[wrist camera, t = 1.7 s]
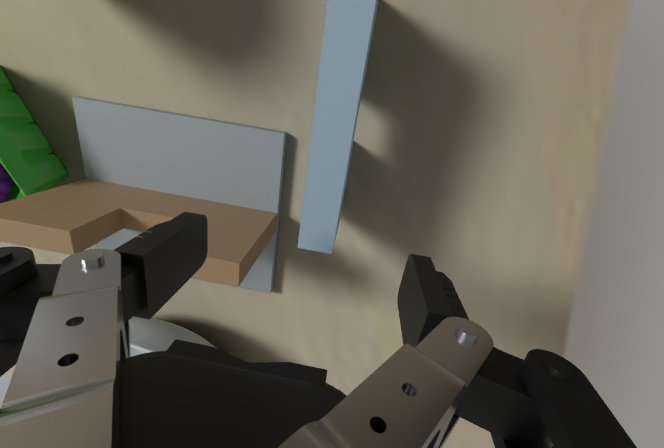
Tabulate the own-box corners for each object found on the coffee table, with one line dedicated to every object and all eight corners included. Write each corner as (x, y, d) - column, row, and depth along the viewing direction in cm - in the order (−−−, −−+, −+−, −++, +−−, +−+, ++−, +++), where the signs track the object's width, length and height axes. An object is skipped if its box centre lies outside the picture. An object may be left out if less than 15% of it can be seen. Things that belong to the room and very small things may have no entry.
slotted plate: (347, -8, 19) (335, -70, 12) (379, -3, 19) (386, -62, 12) (318, 202, 25) (297, 247, 18) (342, 206, 25) (332, 254, 17)
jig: (80, 96, 24) (-69, 98, 16) (287, 132, 23) (243, 152, 15) (106, 256, 29) (6, 318, 21) (272, 288, 29) (235, 364, 20)
